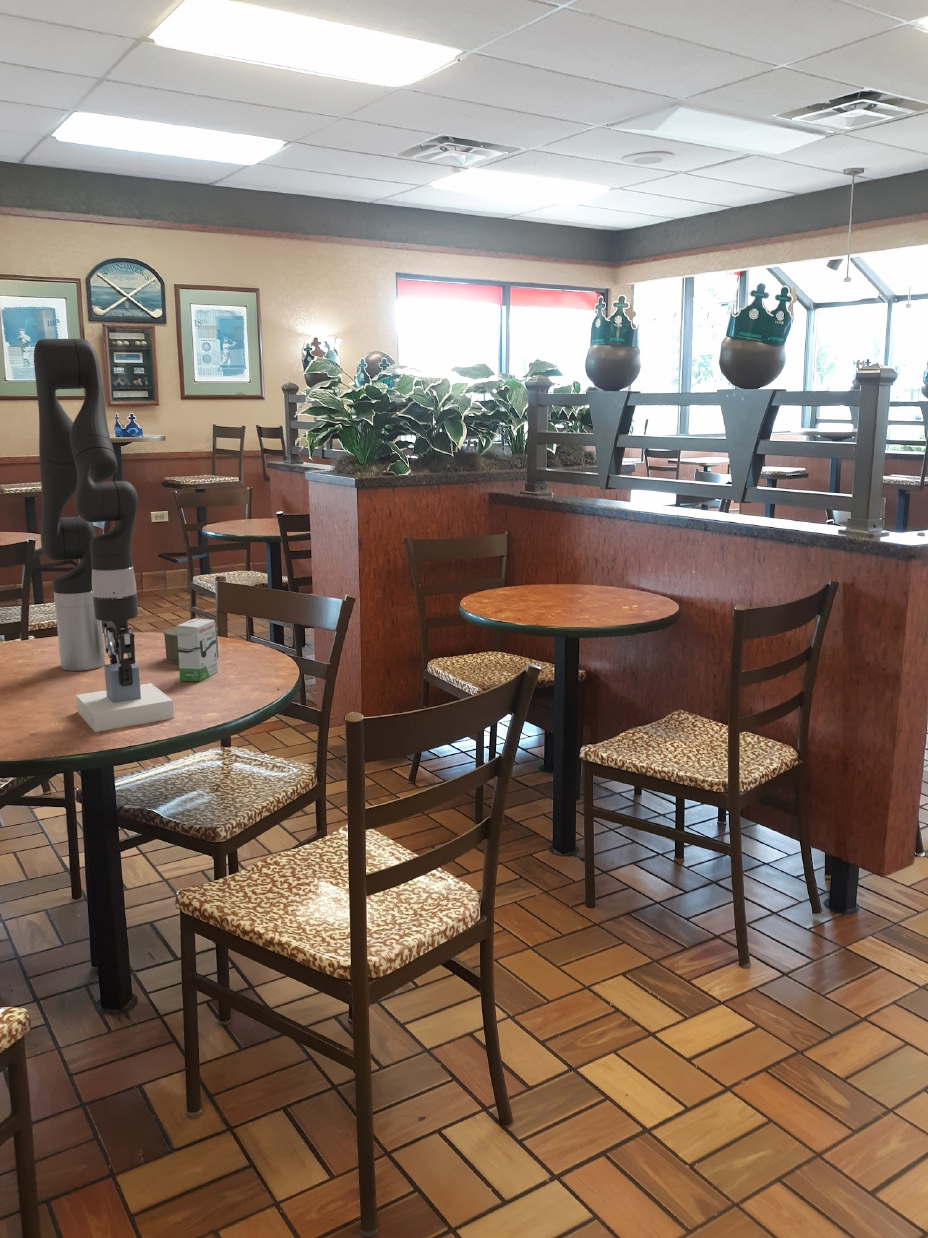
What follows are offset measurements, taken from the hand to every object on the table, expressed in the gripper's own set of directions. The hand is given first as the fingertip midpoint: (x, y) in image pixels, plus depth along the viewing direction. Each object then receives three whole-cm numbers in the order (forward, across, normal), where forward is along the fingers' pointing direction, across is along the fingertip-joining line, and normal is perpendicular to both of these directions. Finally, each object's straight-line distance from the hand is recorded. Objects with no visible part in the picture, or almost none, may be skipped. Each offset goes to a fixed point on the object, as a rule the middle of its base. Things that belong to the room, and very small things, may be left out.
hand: (122, 681), depth 179 cm
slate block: (+3, 0, 0) cm, 3 cm away
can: (+7, -35, +24) cm, 43 cm away
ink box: (+7, -19, +20) cm, 28 cm away
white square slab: (+7, 0, 0) cm, 7 cm away
